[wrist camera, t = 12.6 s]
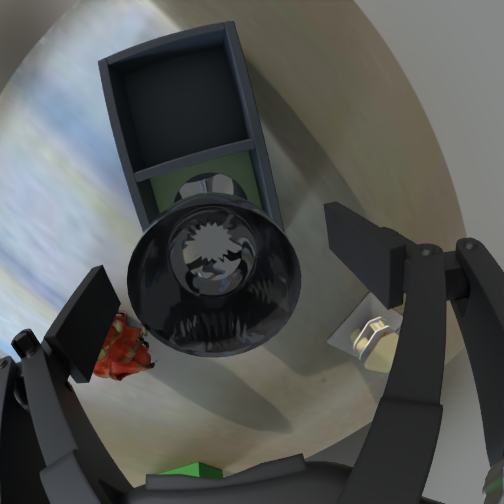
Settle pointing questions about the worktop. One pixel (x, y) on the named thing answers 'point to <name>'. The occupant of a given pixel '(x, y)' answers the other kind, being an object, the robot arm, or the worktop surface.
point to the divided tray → (186, 118)
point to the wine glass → (213, 271)
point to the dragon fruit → (123, 351)
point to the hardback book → (197, 471)
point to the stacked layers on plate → (369, 334)
